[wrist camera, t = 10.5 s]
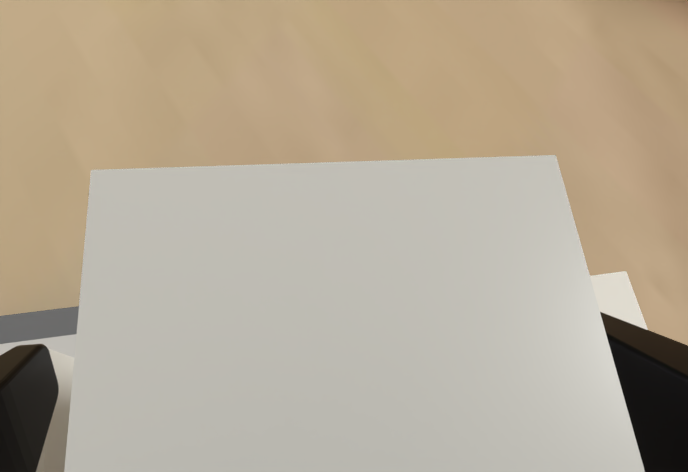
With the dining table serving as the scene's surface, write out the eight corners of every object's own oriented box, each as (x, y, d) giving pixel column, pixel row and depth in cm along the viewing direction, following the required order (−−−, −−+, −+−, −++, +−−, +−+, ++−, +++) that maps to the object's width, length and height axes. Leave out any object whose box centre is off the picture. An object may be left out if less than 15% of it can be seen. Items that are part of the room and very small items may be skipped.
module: (380, 493, 16) (712, 710, 3) (235, 511, 15) (30, 849, 3) (363, 344, 17) (550, 137, 5) (232, 355, 17) (92, 149, 4)
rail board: (638, 526, 17) (749, 556, 13) (-68, 687, 14) (-218, 796, 10) (551, 255, 21) (618, 211, 17) (-33, 329, 17) (-133, 297, 13)
